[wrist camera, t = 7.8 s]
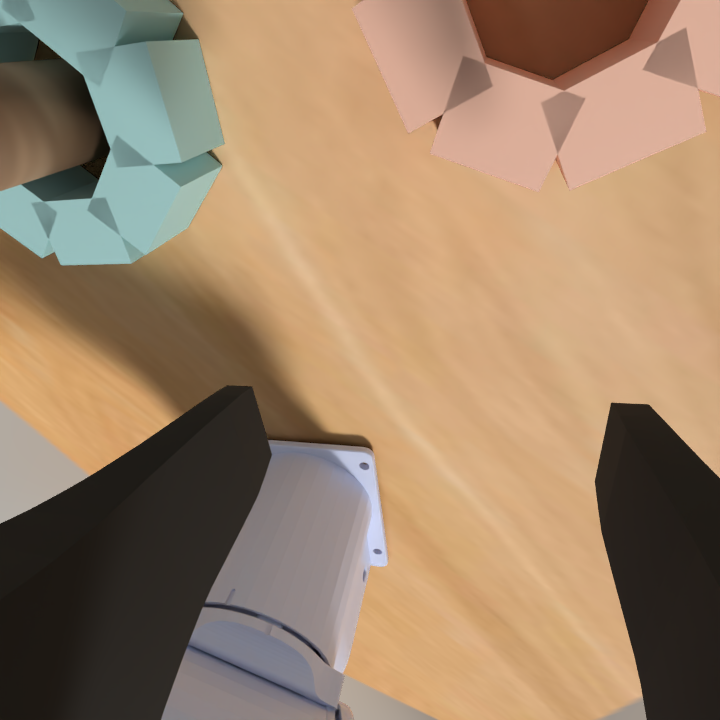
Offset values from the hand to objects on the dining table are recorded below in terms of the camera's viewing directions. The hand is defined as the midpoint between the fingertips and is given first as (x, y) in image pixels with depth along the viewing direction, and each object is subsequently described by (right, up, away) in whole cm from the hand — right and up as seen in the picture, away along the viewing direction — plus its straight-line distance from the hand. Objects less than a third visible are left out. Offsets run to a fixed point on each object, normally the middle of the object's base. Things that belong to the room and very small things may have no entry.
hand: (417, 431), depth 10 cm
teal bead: (-11, +11, +8) cm, 17 cm away
